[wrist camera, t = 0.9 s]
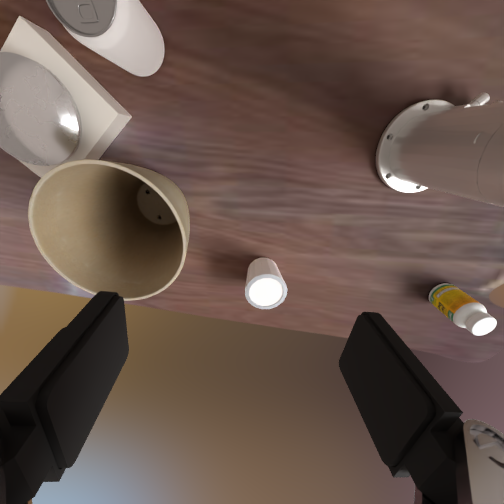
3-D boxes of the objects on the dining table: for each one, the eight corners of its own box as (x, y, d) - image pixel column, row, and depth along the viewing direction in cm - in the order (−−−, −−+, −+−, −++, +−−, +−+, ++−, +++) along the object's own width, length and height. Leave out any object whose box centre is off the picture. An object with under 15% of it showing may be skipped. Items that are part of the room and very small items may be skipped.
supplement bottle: (458, 293, 48) (506, 327, 39) (433, 308, 49) (474, 343, 41) (447, 277, 46) (495, 309, 37) (422, 293, 48) (462, 327, 39)
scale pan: (12, 30, 25) (-4, 22, 23) (105, 119, 28) (96, 118, 27) (-32, 111, 27) (-49, 109, 26) (57, 182, 31) (47, 184, 30)
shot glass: (241, 283, 45) (241, 306, 38) (248, 251, 42) (249, 271, 36) (275, 288, 46) (281, 312, 39) (285, 257, 43) (292, 278, 36)
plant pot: (168, 130, 33) (112, 123, 19) (224, 217, 39) (214, 263, 25) (90, 184, 36) (-11, 213, 22) (154, 258, 42) (108, 320, 27)
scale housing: (44, 27, 28) (15, 11, 24) (132, 116, 32) (118, 113, 29) (-9, 119, 32) (-41, 116, 28) (76, 188, 36) (57, 193, 32)
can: (158, 8, 28) (105, -75, 17) (170, 75, 31) (131, 40, 20) (104, 12, 28) (15, -69, 17) (121, 79, 30) (54, 46, 20)
